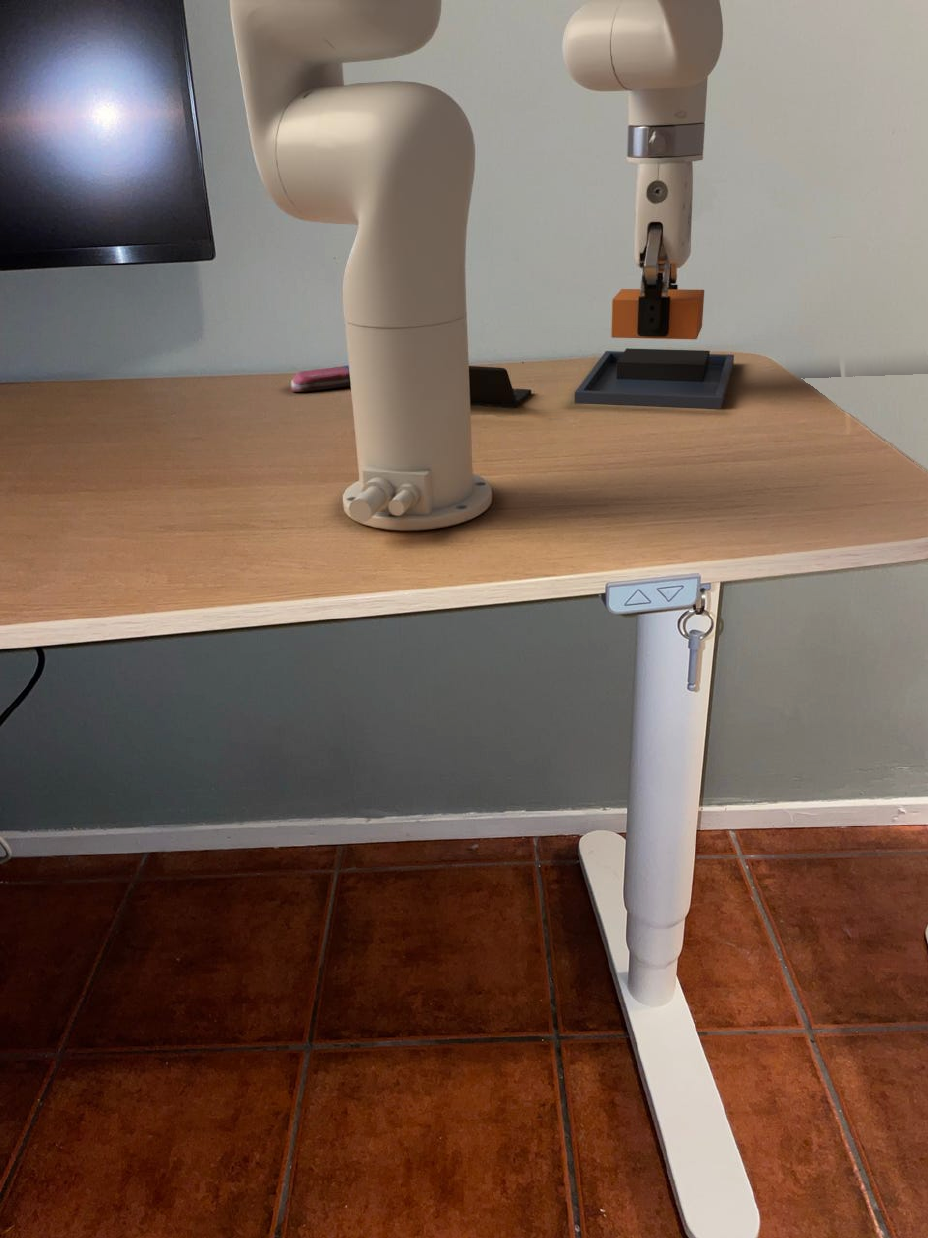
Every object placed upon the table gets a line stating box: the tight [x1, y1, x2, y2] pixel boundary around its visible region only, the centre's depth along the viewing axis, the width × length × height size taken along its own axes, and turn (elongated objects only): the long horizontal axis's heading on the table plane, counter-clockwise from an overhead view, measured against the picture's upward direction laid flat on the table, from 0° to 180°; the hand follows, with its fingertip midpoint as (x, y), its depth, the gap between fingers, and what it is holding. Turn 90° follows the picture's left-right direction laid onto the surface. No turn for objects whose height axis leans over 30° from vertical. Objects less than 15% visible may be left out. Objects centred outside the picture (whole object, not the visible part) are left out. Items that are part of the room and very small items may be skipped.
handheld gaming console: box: [469, 365, 532, 409], centre depth 110 cm, size 12×7×10 cm
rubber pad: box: [616, 347, 711, 382], centre depth 118 cm, size 7×10×2 cm
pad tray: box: [574, 350, 735, 410], centre depth 115 cm, size 20×16×2 cm
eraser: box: [290, 365, 351, 393], centre depth 121 cm, size 11×4×2 cm, turn 105°
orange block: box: [610, 288, 705, 340], centre depth 107 cm, size 6×9×4 cm, turn 73°
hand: (657, 327), depth 108 cm, fingers closed on orange block, 6 cm apart
